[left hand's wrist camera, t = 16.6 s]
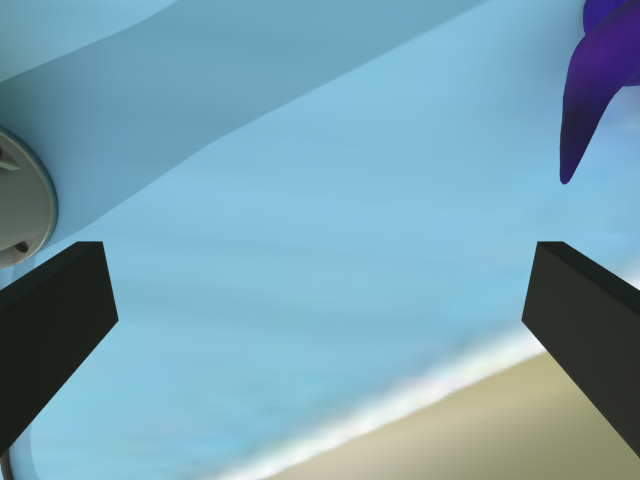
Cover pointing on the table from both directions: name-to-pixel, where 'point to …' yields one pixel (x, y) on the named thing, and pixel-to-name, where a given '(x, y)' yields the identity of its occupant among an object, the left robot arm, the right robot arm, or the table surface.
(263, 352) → the table surface
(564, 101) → the toy
